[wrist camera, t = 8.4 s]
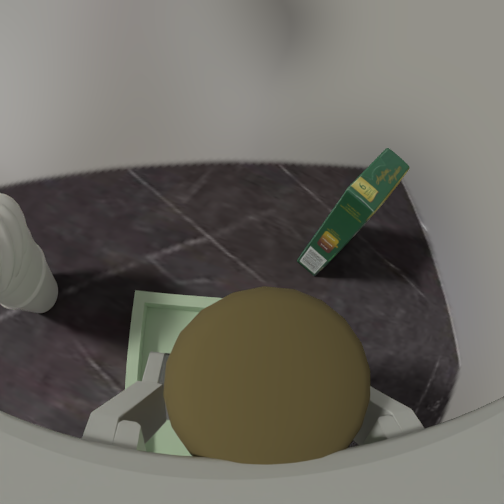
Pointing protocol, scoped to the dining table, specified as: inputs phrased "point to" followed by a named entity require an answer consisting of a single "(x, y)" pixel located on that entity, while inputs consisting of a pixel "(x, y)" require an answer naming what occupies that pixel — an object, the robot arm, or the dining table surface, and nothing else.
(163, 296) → the tray
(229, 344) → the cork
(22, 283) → the soft serve ice cream cone
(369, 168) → the coffee box
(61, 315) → the dining table surface
